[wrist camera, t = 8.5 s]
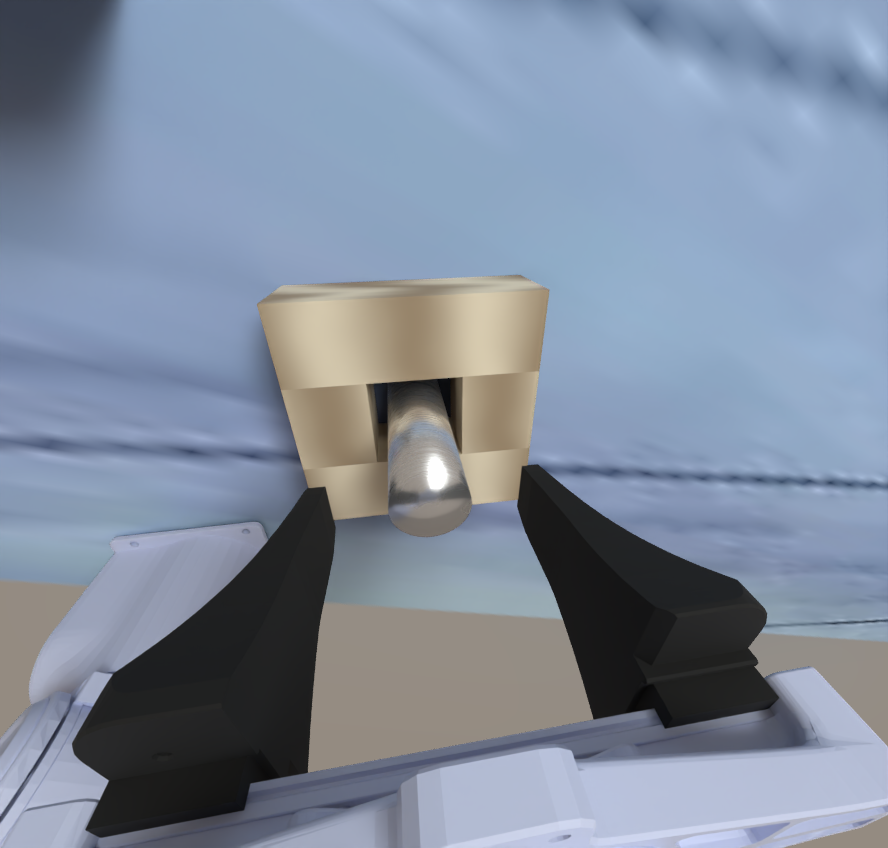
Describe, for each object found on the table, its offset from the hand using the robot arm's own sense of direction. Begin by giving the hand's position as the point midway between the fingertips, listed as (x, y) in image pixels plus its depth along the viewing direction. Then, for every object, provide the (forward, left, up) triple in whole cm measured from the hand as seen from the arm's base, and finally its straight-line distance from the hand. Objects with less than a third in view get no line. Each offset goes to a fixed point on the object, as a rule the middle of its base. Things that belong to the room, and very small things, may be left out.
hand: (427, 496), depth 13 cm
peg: (0, 0, -9) cm, 9 cm away
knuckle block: (0, 0, -9) cm, 9 cm away
